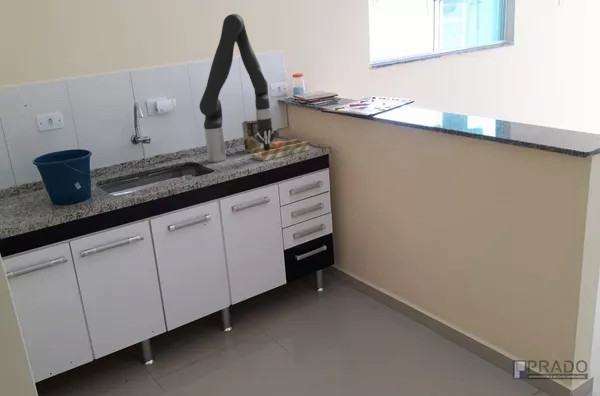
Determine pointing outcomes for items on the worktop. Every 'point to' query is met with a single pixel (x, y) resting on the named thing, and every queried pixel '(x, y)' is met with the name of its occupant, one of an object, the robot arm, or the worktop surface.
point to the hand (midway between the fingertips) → (267, 150)
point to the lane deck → (280, 150)
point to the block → (277, 144)
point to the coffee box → (250, 135)
